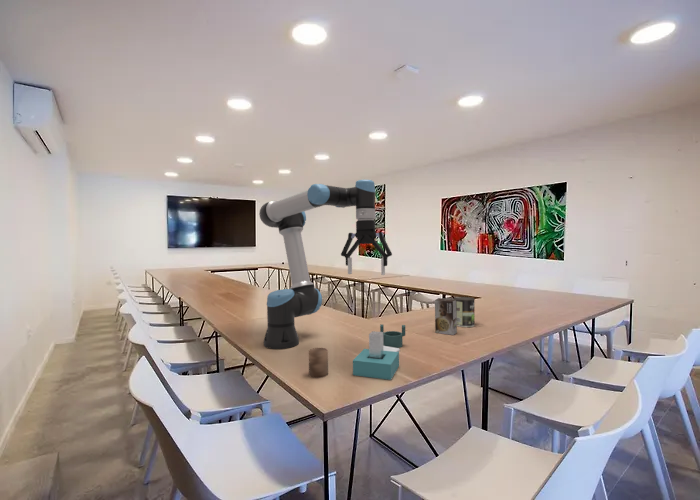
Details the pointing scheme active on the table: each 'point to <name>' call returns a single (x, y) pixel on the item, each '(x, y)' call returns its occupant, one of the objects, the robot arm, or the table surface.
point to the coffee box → (445, 316)
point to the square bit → (376, 345)
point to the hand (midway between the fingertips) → (366, 274)
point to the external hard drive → (390, 349)
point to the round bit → (318, 362)
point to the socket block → (376, 365)
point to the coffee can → (465, 311)
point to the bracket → (392, 337)
